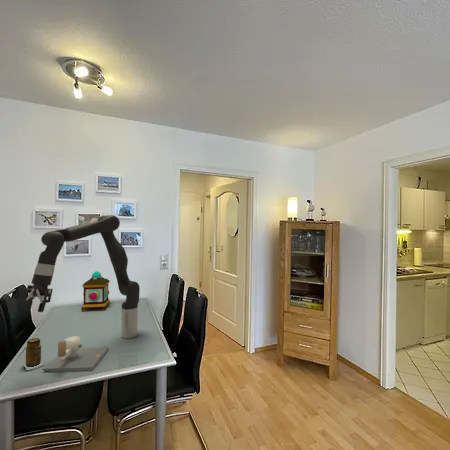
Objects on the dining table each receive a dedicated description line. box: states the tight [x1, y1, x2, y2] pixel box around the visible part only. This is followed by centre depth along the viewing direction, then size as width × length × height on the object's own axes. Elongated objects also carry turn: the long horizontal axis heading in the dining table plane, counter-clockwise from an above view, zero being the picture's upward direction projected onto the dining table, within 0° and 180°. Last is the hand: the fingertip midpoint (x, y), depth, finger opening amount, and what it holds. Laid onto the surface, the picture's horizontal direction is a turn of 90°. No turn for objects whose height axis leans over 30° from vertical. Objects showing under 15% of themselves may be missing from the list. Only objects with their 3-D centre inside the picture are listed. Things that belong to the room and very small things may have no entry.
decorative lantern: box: [81, 271, 111, 312], centre depth 227 cm, size 20×20×30 cm
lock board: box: [42, 346, 109, 372], centre depth 139 cm, size 22×22×5 cm
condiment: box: [25, 337, 42, 367], centre depth 133 cm, size 7×8×12 cm
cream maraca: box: [57, 335, 83, 360], centre depth 135 cm, size 15×9×8 cm, turn 4°
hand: (33, 310), depth 125 cm, fingers open, 8 cm apart
